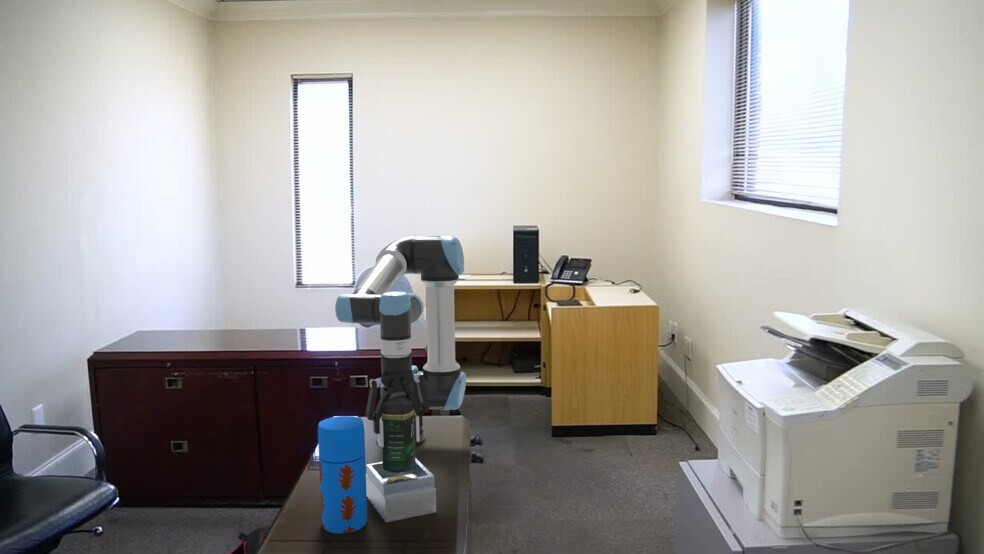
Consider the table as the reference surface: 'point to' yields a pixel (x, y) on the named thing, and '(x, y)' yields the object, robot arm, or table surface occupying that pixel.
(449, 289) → the robot arm
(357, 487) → the thermos
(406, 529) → the table surface
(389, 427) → the coffee jar
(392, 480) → the open grey metal box
